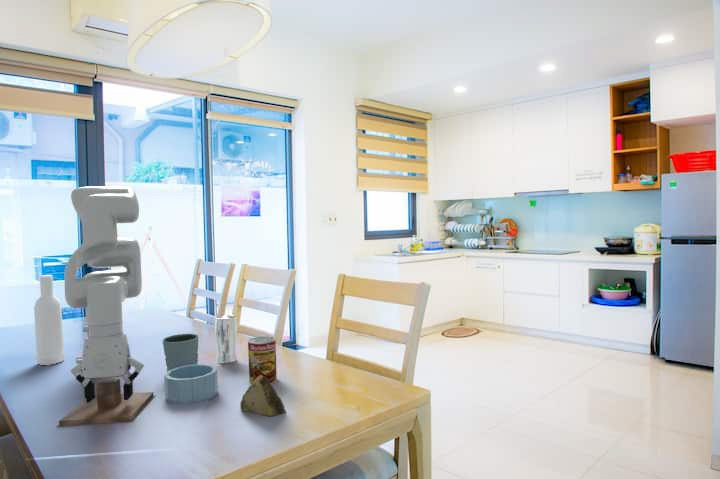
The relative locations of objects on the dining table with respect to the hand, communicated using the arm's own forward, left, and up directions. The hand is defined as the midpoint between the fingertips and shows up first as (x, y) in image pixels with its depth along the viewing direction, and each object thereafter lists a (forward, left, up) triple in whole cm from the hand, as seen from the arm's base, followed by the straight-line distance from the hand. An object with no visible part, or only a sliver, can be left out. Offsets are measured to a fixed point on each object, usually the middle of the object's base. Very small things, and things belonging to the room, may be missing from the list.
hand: (109, 399), depth 119 cm
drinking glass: (+11, +25, -3) cm, 28 cm away
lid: (0, 0, -3) cm, 3 cm away
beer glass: (+22, +39, -3) cm, 45 cm away
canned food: (+36, +17, -3) cm, 40 cm away
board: (0, 0, -3) cm, 3 cm away
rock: (+38, -6, -3) cm, 39 cm away
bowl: (+18, +8, -3) cm, 20 cm away
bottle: (-39, +49, -3) cm, 63 cm away
